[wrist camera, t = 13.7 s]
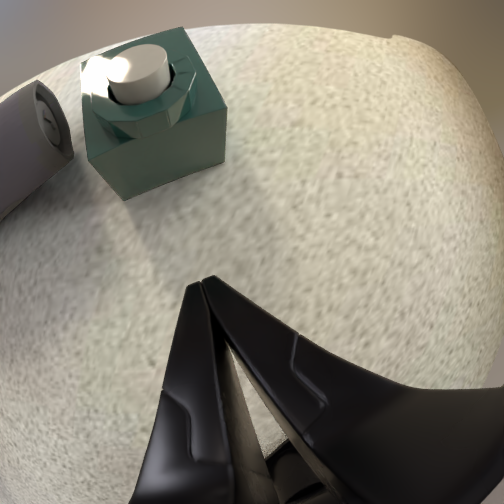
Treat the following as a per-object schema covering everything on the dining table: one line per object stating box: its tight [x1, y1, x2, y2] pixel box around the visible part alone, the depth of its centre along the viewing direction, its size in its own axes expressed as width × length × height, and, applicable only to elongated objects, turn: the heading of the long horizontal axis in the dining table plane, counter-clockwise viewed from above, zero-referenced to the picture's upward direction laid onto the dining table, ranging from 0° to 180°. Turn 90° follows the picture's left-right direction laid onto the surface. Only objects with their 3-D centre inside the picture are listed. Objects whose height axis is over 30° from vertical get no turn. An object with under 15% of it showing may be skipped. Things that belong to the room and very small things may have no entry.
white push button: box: [105, 44, 171, 105], centre depth 12 cm, size 4×4×2 cm
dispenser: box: [81, 27, 227, 201], centre depth 18 cm, size 11×9×9 cm
